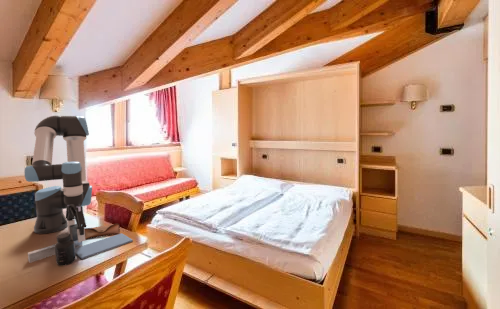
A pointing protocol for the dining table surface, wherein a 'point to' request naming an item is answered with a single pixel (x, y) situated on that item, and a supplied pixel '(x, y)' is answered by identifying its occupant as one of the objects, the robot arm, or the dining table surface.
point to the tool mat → (102, 245)
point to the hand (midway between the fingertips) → (76, 237)
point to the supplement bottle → (64, 250)
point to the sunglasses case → (101, 231)
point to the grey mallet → (53, 247)
